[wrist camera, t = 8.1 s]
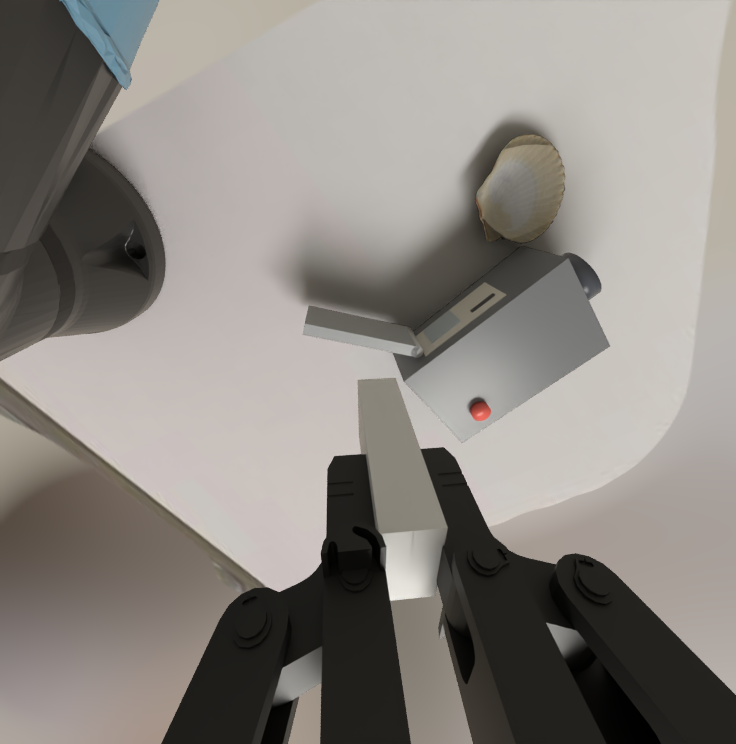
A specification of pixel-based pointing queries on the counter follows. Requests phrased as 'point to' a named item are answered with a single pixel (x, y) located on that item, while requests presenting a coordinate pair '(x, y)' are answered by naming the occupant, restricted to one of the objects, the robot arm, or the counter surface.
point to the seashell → (522, 190)
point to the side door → (361, 331)
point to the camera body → (505, 339)
